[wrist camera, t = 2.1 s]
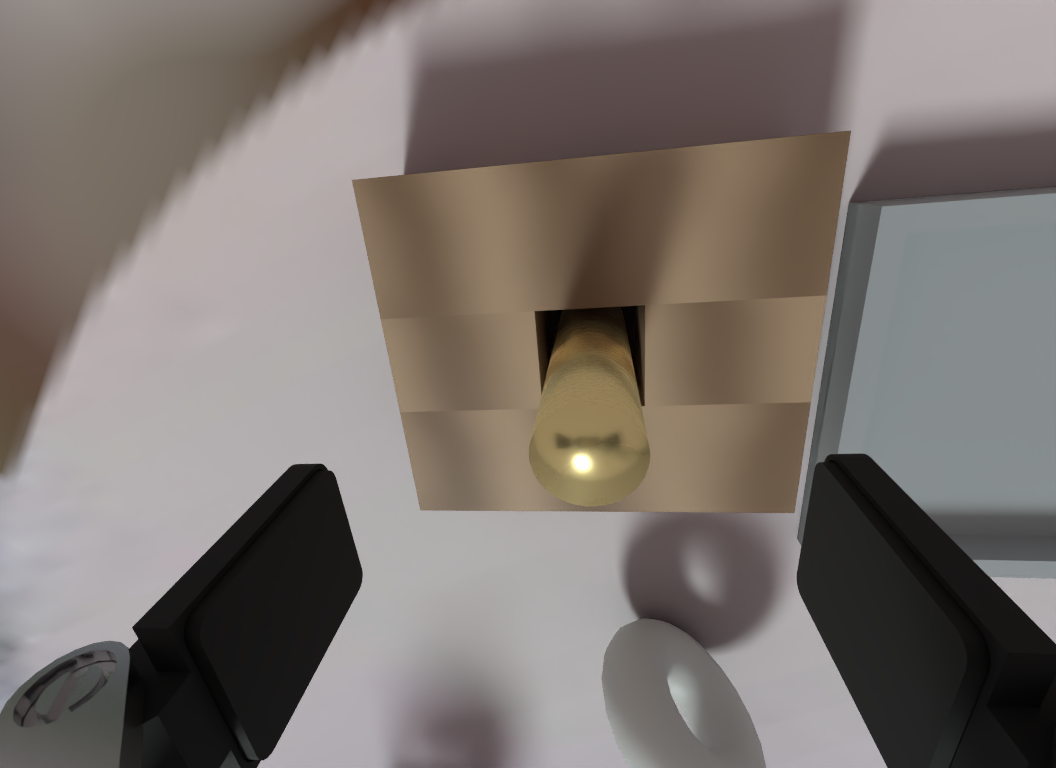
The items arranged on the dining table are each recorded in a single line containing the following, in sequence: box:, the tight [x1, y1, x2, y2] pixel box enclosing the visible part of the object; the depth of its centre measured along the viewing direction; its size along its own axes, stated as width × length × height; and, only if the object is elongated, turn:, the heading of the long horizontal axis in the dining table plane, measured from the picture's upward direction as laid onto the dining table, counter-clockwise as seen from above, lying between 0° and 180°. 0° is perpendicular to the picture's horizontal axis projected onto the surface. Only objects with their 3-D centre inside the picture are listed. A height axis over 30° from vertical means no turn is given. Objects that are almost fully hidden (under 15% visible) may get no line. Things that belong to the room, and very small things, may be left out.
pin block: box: [352, 131, 851, 513], centre depth 21 cm, size 16×14×5 cm
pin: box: [529, 307, 650, 507], centre depth 18 cm, size 3×3×12 cm
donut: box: [602, 619, 766, 768], centre depth 26 cm, size 10×3×10 cm, turn 52°
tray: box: [797, 186, 1056, 579], centre depth 21 cm, size 15×17×2 cm
